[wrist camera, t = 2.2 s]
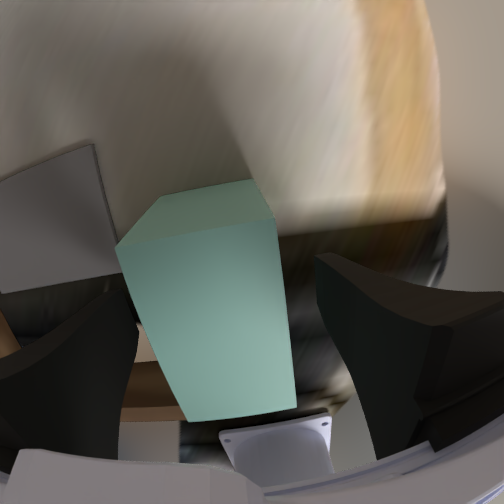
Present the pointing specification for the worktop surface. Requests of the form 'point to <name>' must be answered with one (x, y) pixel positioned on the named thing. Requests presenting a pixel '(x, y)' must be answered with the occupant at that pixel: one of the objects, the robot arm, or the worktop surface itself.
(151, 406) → the wooden l-shaped bracket
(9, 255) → the pad
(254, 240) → the teal block
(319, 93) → the worktop surface
